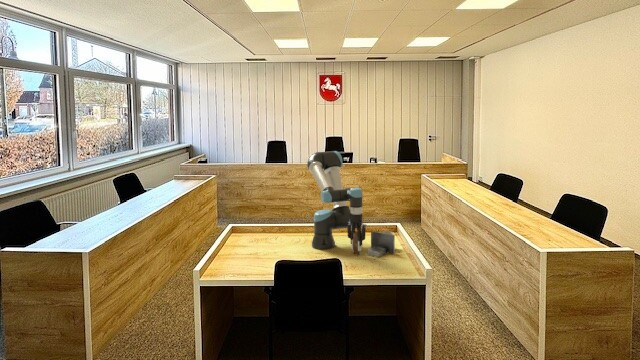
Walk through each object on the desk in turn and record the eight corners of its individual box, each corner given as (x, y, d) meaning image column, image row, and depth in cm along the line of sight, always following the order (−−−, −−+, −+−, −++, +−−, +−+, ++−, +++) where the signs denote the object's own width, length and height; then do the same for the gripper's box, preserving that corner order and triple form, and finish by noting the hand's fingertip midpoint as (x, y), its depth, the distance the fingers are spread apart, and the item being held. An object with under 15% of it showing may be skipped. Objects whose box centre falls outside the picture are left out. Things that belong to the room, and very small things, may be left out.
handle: (352, 254, 329) (351, 232, 326) (355, 252, 332) (355, 230, 329) (357, 255, 326) (357, 233, 324) (361, 253, 330) (360, 231, 327)
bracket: (362, 253, 329) (362, 235, 327) (372, 249, 338) (372, 230, 336) (384, 258, 319) (384, 239, 317) (394, 253, 329) (394, 234, 326)
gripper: (341, 212, 327) (341, 249, 331) (364, 216, 316) (364, 254, 321) (348, 210, 332) (348, 246, 337) (371, 213, 322) (371, 250, 327)
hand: (356, 249), depth 329 cm, fingers closed on handle, 4 cm apart
